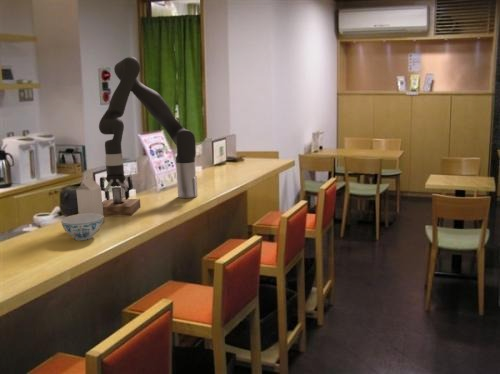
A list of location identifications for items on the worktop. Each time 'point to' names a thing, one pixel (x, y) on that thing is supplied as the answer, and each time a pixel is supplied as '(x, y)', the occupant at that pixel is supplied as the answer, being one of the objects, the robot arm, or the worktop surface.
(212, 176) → the worktop surface
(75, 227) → the chinaware
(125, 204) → the block
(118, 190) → the grey upright bar
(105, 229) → the worktop surface
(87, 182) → the milk carton
